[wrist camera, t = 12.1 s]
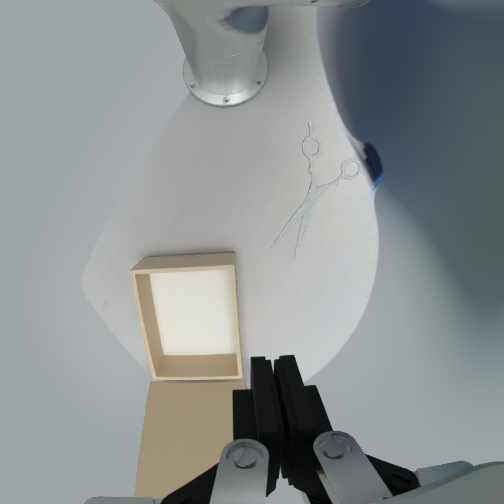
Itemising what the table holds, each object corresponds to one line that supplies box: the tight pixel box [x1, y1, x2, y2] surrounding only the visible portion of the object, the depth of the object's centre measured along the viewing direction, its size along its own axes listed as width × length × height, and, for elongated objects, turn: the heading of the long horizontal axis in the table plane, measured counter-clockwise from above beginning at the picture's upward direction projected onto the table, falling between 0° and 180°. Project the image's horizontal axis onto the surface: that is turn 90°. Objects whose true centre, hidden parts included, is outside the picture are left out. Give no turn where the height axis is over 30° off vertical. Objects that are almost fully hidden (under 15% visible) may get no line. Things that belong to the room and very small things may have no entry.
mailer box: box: [130, 252, 242, 380], centre depth 44 cm, size 18×14×7 cm
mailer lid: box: [134, 381, 247, 499], centre depth 34 cm, size 20×15×1 cm
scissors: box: [271, 122, 362, 257], centre depth 44 cm, size 11×1×20 cm
